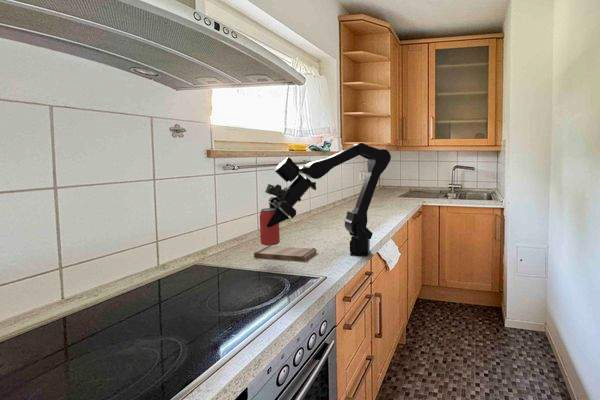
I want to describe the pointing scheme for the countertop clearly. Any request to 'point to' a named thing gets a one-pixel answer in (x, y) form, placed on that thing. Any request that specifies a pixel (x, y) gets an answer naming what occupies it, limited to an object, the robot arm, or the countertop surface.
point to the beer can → (268, 234)
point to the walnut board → (285, 253)
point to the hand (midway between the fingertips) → (265, 225)
